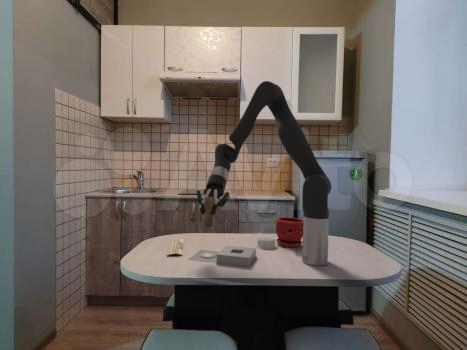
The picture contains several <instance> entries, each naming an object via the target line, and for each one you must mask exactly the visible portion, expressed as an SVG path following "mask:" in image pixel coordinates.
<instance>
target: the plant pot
mask: <svg viewBox="0 0 467 350" xmlns="http://www.w3.org/2000/svg"><path fill="white" fill-rule="evenodd" d="M275 231H276V236H277V238H276V240H275V241H276V243H277V244H278V245H279V246H282V247H286V248H298V247H301V245H303V219H302V218H296V217H288V216H287V217H286V216H282V217H277V218H276V221H275Z"/></svg>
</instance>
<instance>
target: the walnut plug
mask: <svg viewBox="0 0 467 350" xmlns="http://www.w3.org/2000/svg"><path fill="white" fill-rule="evenodd" d="M203 199H204V214H203V227H204V228H211V227H212V228H213V226H214V216H213V215H211V210H212V207H213V205H214V197H205V198H204V197H203Z"/></svg>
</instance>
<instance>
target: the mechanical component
mask: <svg viewBox="0 0 467 350" xmlns="http://www.w3.org/2000/svg"><path fill="white" fill-rule="evenodd" d="M275 241H276V240H275V239H274V238H272V237H267V236H266V237H265V236H261V237H258V238H257V243H255V244H254V247H255V248H256V249H261V250H275V249H278V245H277V244H276V242H275Z"/></svg>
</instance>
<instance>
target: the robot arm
mask: <svg viewBox="0 0 467 350" xmlns="http://www.w3.org/2000/svg"><path fill="white" fill-rule="evenodd" d="M265 107H267V108H268V109H269V110H270V113H271V114H272V116H273V117H274V119H275V124H276V130H277V135H278V139H279V141H280V142H281V144H282V146H283V148H284V150H285V151H286V153H287V154H288V156H289V157H290V158H291V160H292V161H293V162H294V163H295V165H296V166H298V168H299V170H300V172H301V173H302V176H303V179H304V181H303V184H302V196H301V197H302V199H301V200H302V202H301V203H302V206H301V207H302V210H303V219H302V220H303V237H302V250H301V251H302V255H301V261H302V263H305V264H307V265H310V266H328V264H329V263H328V257H329V222H330V221H329V219H330V211H329V206H328V202H329V201H328V199H329V198H328V197H329V196H328V195H329V194H330V193H331V190H332V183H331V181H330V179H329V177H328V176H327V174H326V173H325V171H324V170H323V169H322V167H321V165H320V164H319V162H318V160H317V158H316V156H315V154H314V152H313V149H312V147H311V145H310V143H309V141H308V138H307V137H306V135H305V133H304V131H303V129H302V127H301V126H300V124H299V123H298V121H297V119H296V117H295V116H294V114H293V113H292V111H291V109H290V106H289V104H288V102H287V100H286V96H285V94H284V91H283V89H282V87H280V86H279V85H278V84H276V83H274V82H272V81H268V80H264V81H262V82H260V83H259V84H258V86H257V87H256V88H255V91H254V92H253V94H252V97H251V98H250V100H249V103H248V105H247V106H246V108H245V111H244V112H243V114H242V116H241V118H240V120H239V121H238V123H237V124H236V125H235V127H234V128H233V130H232V131H231V133H230V134H229V136H228V140H229V141H230V143H232V144H233V146H234V147H233V146H231V145H229V144H228V143H226V142H219V143H218V144H217V145H216V147H215V151H214V165H213V168H212V170H211V172H210V174H209V176H208V180H207V183H206V185H205V188H204V189H203V190H201V191H200V190H199V189H198V190H197V191H196V196H197V197H196V198H197V203H198V205H199V206H200V207H199V213H200V214H201V215H203V216H204V198H205V197H214V205H213V207H212V210H211V215H213V217H214V216H215V215H216V214H217V210H218V208H223V207H224V206H225V204H227V202H228V200H230V198H231V196H230V193H229V192H225V190H226V186H227V183H228V180H229V174H230V170H231V167H232V164H233V163H235V162H236V161H237V160H238V157H239V154H240V152H241V149H242V147H243V145H244V143H245V142H247V141H246V140H247V139H248V138H249V136H250V135H251V133H252V132H253V129H254V127H255V125H256V121H257V118H258V116H259V115H260V113H261V111H263V109H264V108H265ZM202 198H203V199H202ZM220 198H221V199H220Z"/></svg>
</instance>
